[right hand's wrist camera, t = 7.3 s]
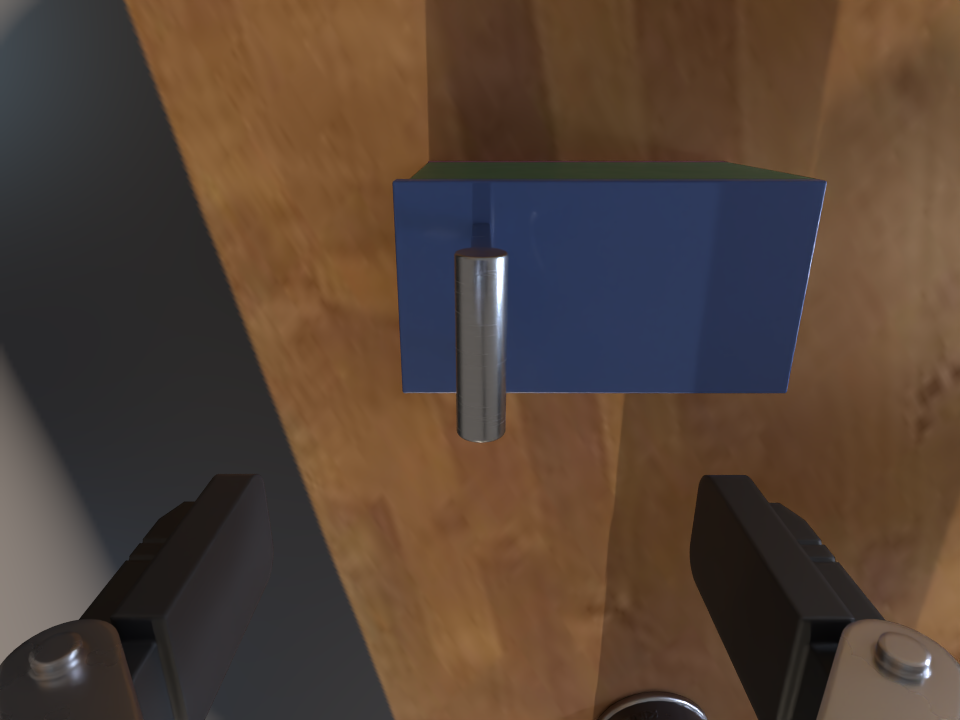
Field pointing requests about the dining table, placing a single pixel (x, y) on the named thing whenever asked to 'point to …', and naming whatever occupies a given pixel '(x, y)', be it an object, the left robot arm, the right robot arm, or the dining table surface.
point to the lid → (599, 287)
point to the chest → (595, 170)
